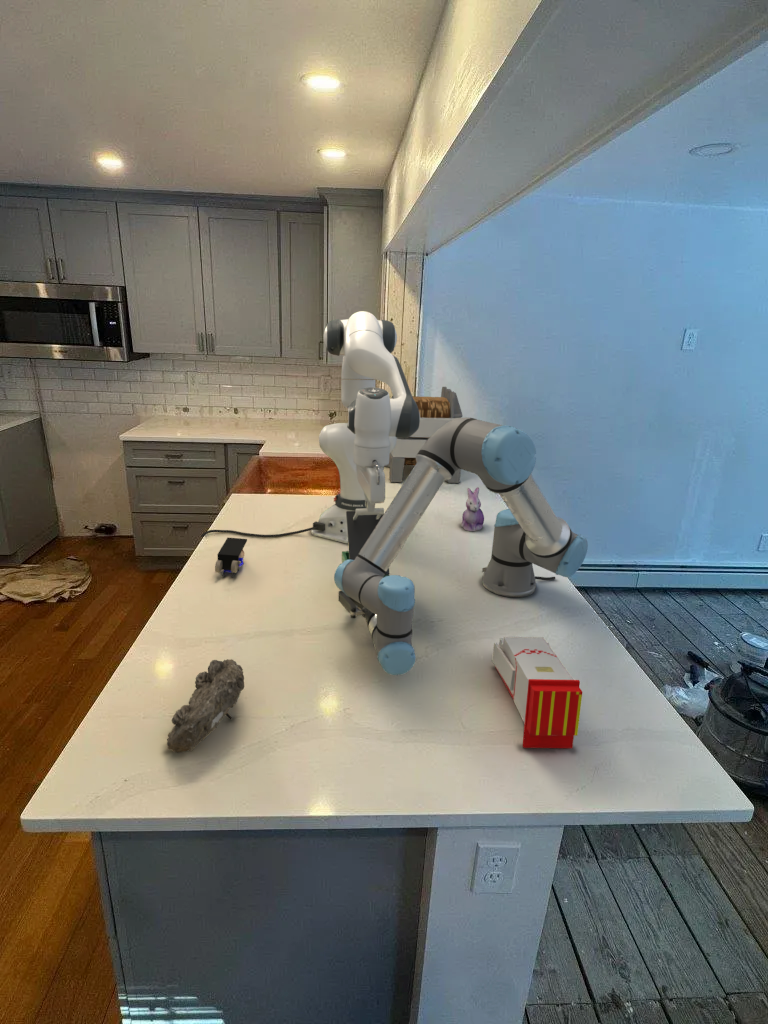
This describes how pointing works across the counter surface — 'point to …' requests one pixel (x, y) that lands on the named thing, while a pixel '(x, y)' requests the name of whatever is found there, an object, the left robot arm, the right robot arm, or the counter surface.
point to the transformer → (425, 431)
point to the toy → (539, 691)
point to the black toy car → (230, 556)
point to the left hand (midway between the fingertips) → (369, 509)
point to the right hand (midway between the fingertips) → (367, 580)
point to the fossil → (206, 705)
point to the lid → (361, 529)
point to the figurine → (473, 512)
